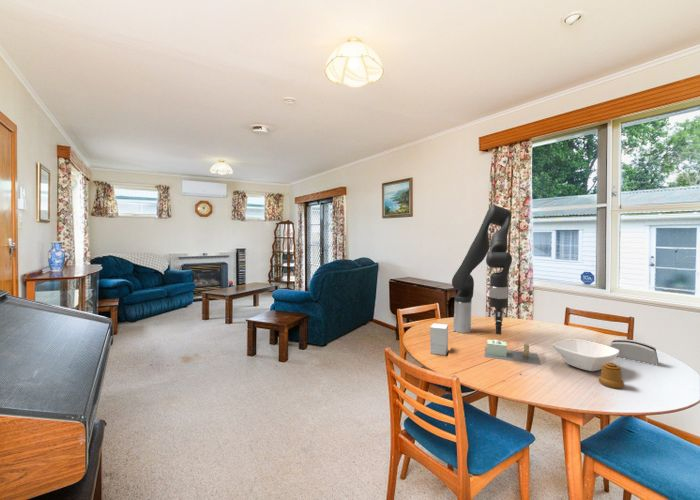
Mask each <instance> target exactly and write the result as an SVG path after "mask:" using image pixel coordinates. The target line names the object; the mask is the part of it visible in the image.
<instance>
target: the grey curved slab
mask: <svg viewBox="0 0 700 500" xmlns="http://www.w3.org/2000/svg"><path fill="white" fill-rule="evenodd" d="M610 347H613V348H615V349H618V350H619V354H618V355H617V356H616V357H615V358H618V357H620V358H619V359H623V358H625V359H624V360H628V359H630V360H629V361H632V360H635V361H634V362H637V361H640V362H639V363H642V362H645V363H644V364H646V363H649V364H648V365H651V364H654V365H653V366H656V365H658V366H659V358H658V353H657V348H656V347H655V346H653V345H652V344H648V343H645V342H641V341H638V340H634V339H633V340H632V339H625V338H619V339H613V340H611V343H610Z"/></svg>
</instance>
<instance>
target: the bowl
mask: <svg viewBox="0 0 700 500" xmlns="http://www.w3.org/2000/svg"><path fill="white" fill-rule="evenodd" d="M552 347H553V349H555V351H556V352H557V353H558V354H559V355H561V356H562V358H563V360H564V361H565V362H566V364H568V365H569V366H572V367H575V368H578V369H581V370H585V371H588V372H595V371H600V370H602V365H604V364H607V363H611V362H612V361H613V360H615V358H617V357H616V356H617V355H618V354H619V350H618V349H615V348H613V347H611V346H608V345H606V344H602V343H598V342H594V341H589V340H586V339H581V338H566V339H560V340H556V341H555V342H554V343H553V344H552Z"/></svg>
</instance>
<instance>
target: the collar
mask: <svg viewBox="0 0 700 500" xmlns="http://www.w3.org/2000/svg"><path fill="white" fill-rule="evenodd" d="M495 340H496V339H487V341H486V347H487V354H488V355H496V356H503V357H506V356H507V350H508V348H507V346H508V343H507V341H503V340H499V344H494V341H495Z"/></svg>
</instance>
